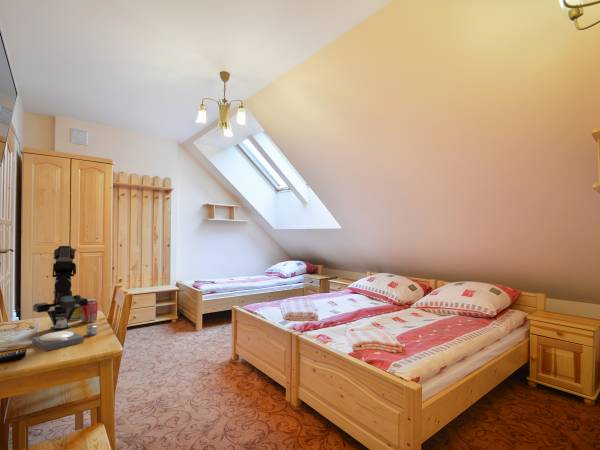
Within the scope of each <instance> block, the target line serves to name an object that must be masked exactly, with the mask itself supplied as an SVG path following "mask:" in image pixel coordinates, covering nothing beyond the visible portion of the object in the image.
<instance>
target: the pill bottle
mask: <svg viewBox="0 0 600 450" xmlns="http://www.w3.org/2000/svg"><path fill="white" fill-rule="evenodd" d="M78 307H79V308H77V309H76V310H75V311H74V312H73V315H72V316H71V318H70V320H69V321H79V320H81V321H82V306H80V305H79V304H78Z"/></svg>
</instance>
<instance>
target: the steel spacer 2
mask: <svg viewBox="0 0 600 450" xmlns="http://www.w3.org/2000/svg"><path fill="white" fill-rule="evenodd" d="M98 327H99V326H98V324H91V325H87V326H86V329H85V330H86V332H85V333H86V336H87V337H94V336H97V335H98Z"/></svg>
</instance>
